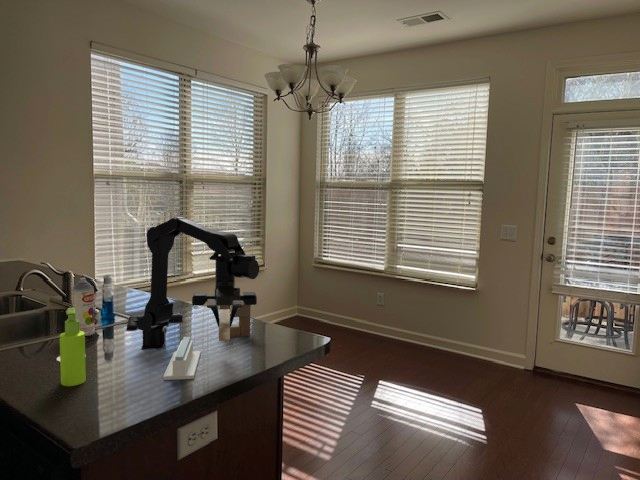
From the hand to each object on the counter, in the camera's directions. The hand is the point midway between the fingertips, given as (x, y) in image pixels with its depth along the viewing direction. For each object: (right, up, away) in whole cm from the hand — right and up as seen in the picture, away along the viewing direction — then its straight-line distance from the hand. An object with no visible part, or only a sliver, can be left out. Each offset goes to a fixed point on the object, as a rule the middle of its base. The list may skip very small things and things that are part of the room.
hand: (224, 326), depth 144 cm
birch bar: (0, -1, 0) cm, 1 cm away
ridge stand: (-11, -11, -4) cm, 16 cm away
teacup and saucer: (-46, -10, +4) cm, 47 cm away
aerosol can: (-54, -7, +23) cm, 59 cm away
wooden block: (-2, -8, +27) cm, 28 cm away
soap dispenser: (-37, -12, -18) cm, 42 cm away
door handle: (-33, -7, +36) cm, 50 cm away
